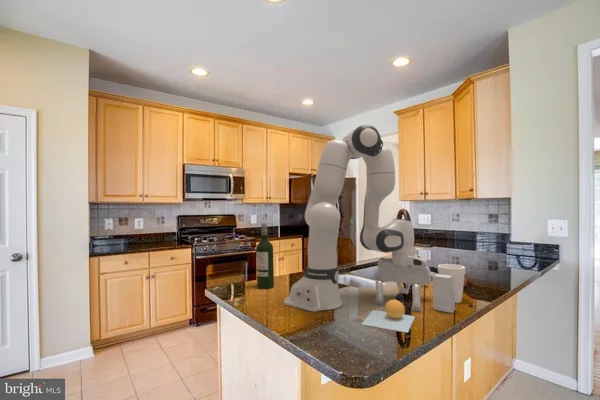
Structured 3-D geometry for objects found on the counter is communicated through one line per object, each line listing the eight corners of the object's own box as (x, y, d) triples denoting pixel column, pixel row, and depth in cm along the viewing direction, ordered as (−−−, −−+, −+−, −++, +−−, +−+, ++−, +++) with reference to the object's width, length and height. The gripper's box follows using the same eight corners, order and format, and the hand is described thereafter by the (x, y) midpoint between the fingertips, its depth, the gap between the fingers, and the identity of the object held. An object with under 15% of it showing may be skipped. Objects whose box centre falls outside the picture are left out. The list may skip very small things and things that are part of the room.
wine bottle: (254, 288, 140) (252, 223, 140) (261, 284, 147) (260, 222, 148) (269, 289, 137) (268, 223, 138) (276, 285, 144) (275, 222, 145)
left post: (375, 305, 112) (374, 281, 112) (377, 303, 115) (376, 279, 115) (382, 306, 111) (381, 281, 111) (384, 304, 113) (383, 280, 114)
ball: (386, 302, 105) (385, 319, 101) (385, 295, 100) (383, 313, 97) (405, 304, 102) (404, 322, 99) (404, 298, 98) (402, 316, 94)
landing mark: (361, 324, 95) (361, 324, 95) (373, 310, 107) (373, 310, 107) (407, 332, 88) (407, 332, 88) (415, 316, 100) (415, 316, 100)
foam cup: (469, 304, 111) (468, 269, 111) (442, 303, 112) (441, 268, 113) (461, 296, 120) (460, 264, 120) (436, 296, 122) (435, 263, 122)
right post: (412, 310, 106) (411, 284, 106) (413, 308, 108) (412, 283, 108) (420, 311, 105) (419, 285, 105) (421, 309, 107) (420, 283, 107)
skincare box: (455, 310, 105) (454, 275, 106) (451, 313, 102) (450, 277, 102) (437, 306, 110) (436, 273, 110) (432, 309, 106) (431, 275, 107)
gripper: (375, 258, 124) (376, 292, 123) (429, 262, 114) (430, 298, 113) (379, 256, 129) (380, 288, 129) (431, 259, 119) (432, 294, 119)
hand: (404, 293), depth 121 cm, fingers closed
